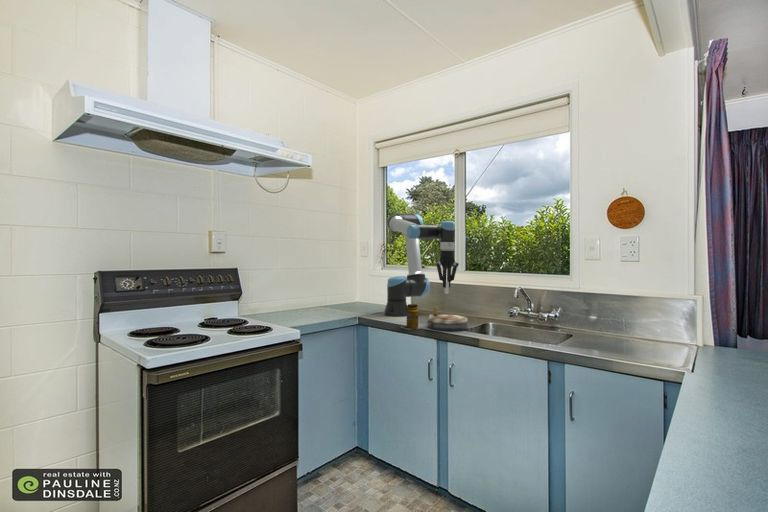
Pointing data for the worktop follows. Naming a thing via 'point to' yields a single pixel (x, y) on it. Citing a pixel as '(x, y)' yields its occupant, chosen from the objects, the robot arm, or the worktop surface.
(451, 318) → the turntable
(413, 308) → the condiment
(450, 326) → the turntable base
